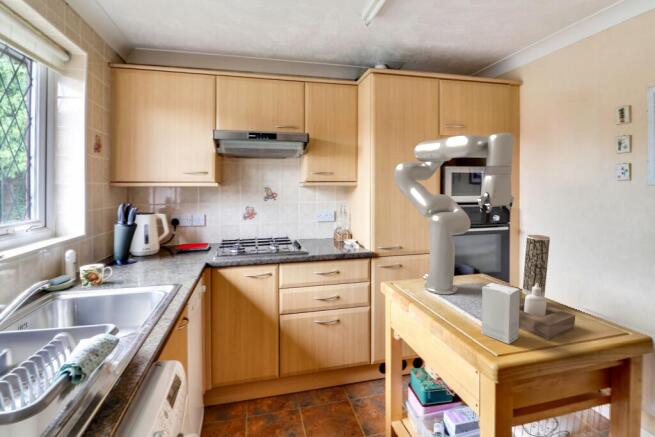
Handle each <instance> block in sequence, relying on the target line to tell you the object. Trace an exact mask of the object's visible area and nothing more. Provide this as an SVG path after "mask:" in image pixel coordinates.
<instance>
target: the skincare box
mask: <svg viewBox="0 0 655 437" xmlns="http://www.w3.org/2000/svg"><path fill="white" fill-rule="evenodd" d="M520 290H521V289H519V288H517V287H512V286H508V285H503V284H499V283H496V282H490V283H488V284H486V285H483V286H482V293H481V296H482V297H481V303H482V304H481V335H484V336H487V337H490V338H492V339H494V340H497V341H500V342H503V343H505V344H507V345H510V344H512V343H513V342H515V341H516V340H518V339H519V333H520V332H519V330H520V329H519V299H520V298H521V297H520Z"/></svg>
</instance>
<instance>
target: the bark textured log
mask: <svg viewBox="0 0 655 437" xmlns="http://www.w3.org/2000/svg"><path fill="white" fill-rule="evenodd" d="M550 241H551V237H550V236H548V235H540V234H526V242H525V253H524V264H523V265H524V267H523V277H522V278H523V279H522V291H521V298H525V297H526V296H527V295H529V294H532V287H534V286H535V284H536V283H538V284H539V287H540V288H541V295H542V296H544V297H545V296H546V285H547V274H548V263H549V251H550V243H551V242H550Z"/></svg>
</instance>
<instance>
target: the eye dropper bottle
mask: <svg viewBox="0 0 655 437" xmlns="http://www.w3.org/2000/svg"><path fill="white" fill-rule="evenodd" d="M546 306H547V298H546V297H545V296H542V295H541V288H540V287H539V284H538V283H536V284H535V286H534V287H532V294H529V295H527V296H526V297H525V305H524V312H526V313H529V314H532V315H535V316H537V317H540V318H541V317H544V316H545V315H546Z"/></svg>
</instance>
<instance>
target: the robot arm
mask: <svg viewBox="0 0 655 437" xmlns="http://www.w3.org/2000/svg"><path fill="white" fill-rule="evenodd" d="M514 141H515V137H514V135H513V133H511V132H499V133H493V134H490V135H481V134H479V135H478V134H462V135H460V134H459V135H453V136H448V137H446V138H440V139H435V140H433V139H432V140H427V141H422V142H420V143H418V144H417V145H416V146H415V147H414V149H413V155H414V158H415V159H416V160H417V161H403V162H401V163H398V165H396V167H395V169H394V173H393V177H394V182H395V185H396V187H397V188H398V189H399V191H400V192H401V193H402V195H404V196H405V197H406V198H407V199H408V200H409V202H410V203H411V204H412V206H414V208H415V209H416V210H417V212H418V213H420V215H421V216H422V217H424V218H429V220H428V223H427V228H428V233H429V265H428V266H429V267H428V268H429V269H428V273H425V274H424V275H423V276H422V279H424V280H426V283H425V284H424V289H425V290H426V291H428V292H430V293H433V294H436V295H452V294H453V295H454V294H455V293H457V292H458V287H457V286H456V285H455V284H454V278H455V276H454V275H455V260H456V258H455V257H456V253H455V252H456V246H455V241H454V239H453V237H452V236H458V235H464V234H465V233H467V232H468V231H469V230H470V228H471V223H472V222H471V219H470V217H469V215H468V213H467V212H466V211H465V210H464V209H463V208H462V207H460V205H459V204H458V203H457V202H456V200H454V199H453V198H452V197H451V196H449V195H447V194H443V193H442V194H433V193H431V192H430V191H429V190H428V189H427V188H426V187H425V185H423V184H421V183H420V182H419V181H427V180H429V179H430V178H432V177H433V175H435V173H436V172H437V171H438V170H439V168H441V166H442V165H443V164H444V163H445V162H447V161H451V160H452V159H453V158H454V159H456V158H481V159H482V158H483V159H484V158H486V167H485V176H484V178H483V180H482V184H481V190H480V197H479V198H478V199H477V203H478V208H479V211H480V224H481V225H487V226H489V225H491V221H492V213H491V211H492V209H493V208H494V207H495V208H496V207H500V210H499V223H507V224H509V223H510V213H511V211H512V206H513V203H514V201H515V197H514V196H513V195H512V171H513V169H512V168H513V156H514V155H513V153H514Z"/></svg>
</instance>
